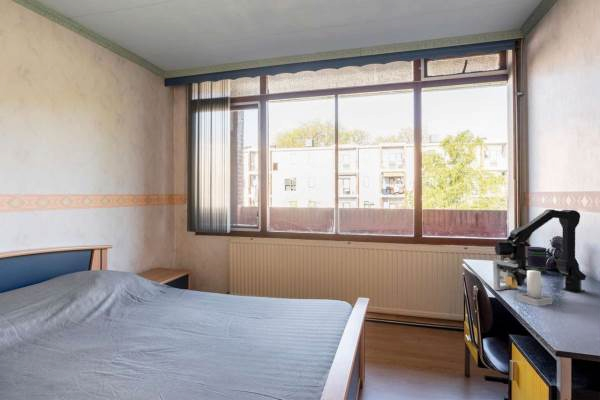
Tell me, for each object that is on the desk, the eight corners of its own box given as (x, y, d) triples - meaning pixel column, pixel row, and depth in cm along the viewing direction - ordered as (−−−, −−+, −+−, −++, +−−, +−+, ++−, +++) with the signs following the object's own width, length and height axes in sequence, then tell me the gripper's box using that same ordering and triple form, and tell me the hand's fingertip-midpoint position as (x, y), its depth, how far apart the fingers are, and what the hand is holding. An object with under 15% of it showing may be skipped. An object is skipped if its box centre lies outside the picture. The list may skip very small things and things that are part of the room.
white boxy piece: (511, 286, 167) (510, 257, 166) (535, 293, 154) (534, 262, 154) (492, 289, 163) (491, 259, 163) (515, 296, 151) (514, 264, 151)
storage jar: (523, 271, 198) (522, 247, 198) (534, 269, 201) (534, 246, 201) (539, 275, 189) (538, 249, 189) (551, 273, 192) (550, 248, 191)
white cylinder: (532, 297, 147) (531, 269, 147) (547, 301, 141) (546, 272, 141) (521, 299, 145) (520, 270, 145) (536, 303, 139) (535, 273, 139)
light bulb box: (508, 283, 172) (507, 263, 172) (497, 280, 179) (496, 261, 179) (523, 281, 175) (522, 262, 175) (512, 279, 182) (511, 260, 182)
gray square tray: (531, 297, 149) (531, 292, 149) (552, 303, 140) (552, 298, 140) (516, 299, 146) (516, 294, 146) (536, 306, 137) (536, 300, 137)
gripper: (490, 253, 167) (491, 283, 167) (524, 259, 149) (525, 293, 149) (507, 251, 170) (507, 281, 170) (542, 257, 152) (543, 290, 152)
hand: (519, 286), depth 160 cm, fingers closed
